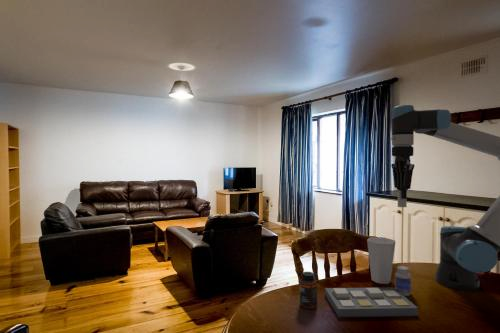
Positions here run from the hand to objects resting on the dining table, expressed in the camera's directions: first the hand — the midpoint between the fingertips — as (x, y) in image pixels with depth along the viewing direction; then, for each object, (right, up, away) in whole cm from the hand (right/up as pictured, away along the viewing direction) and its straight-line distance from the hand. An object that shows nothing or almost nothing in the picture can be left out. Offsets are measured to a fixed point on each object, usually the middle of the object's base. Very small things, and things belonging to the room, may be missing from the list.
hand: (402, 206), depth 119 cm
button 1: (-9, -32, -9) cm, 34 cm away
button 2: (-15, -31, -10) cm, 36 cm away
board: (-18, -33, -12) cm, 39 cm away
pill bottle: (-1, -33, -2) cm, 33 cm away
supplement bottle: (-39, -33, -12) cm, 52 cm away
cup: (-4, -32, +10) cm, 34 cm away
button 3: (-21, -32, -10) cm, 39 cm away
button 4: (-27, -31, -10) cm, 42 cm away
